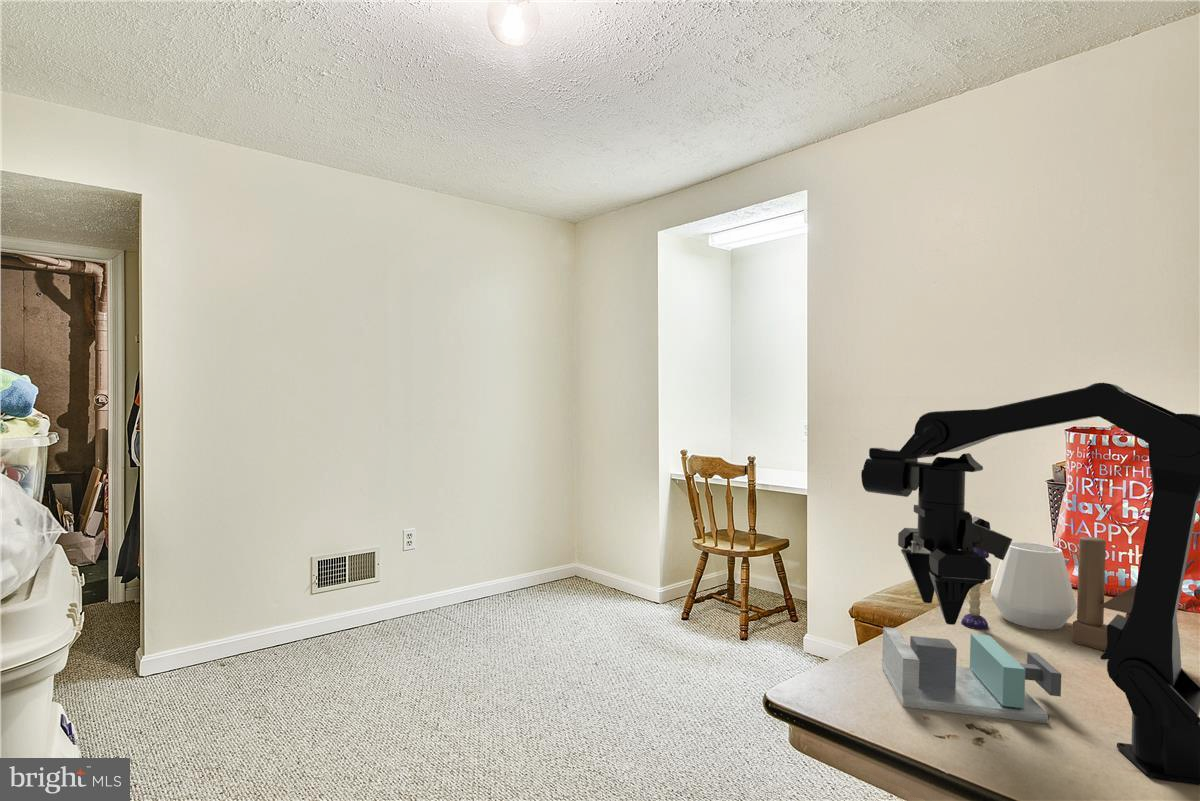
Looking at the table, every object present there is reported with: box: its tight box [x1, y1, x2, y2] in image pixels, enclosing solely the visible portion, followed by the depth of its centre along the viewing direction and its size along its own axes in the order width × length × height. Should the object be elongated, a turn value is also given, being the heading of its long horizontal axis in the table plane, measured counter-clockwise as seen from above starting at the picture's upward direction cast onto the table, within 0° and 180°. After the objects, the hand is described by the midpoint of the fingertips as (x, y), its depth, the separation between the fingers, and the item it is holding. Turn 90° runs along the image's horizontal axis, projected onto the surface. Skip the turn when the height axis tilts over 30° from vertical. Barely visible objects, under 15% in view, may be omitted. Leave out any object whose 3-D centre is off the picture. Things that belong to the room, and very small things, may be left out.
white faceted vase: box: [990, 541, 1077, 631], centre depth 120 cm, size 13×13×14 cm
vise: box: [880, 626, 1049, 724], centre depth 89 cm, size 13×17×6 cm
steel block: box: [909, 635, 958, 689], centre depth 90 cm, size 4×5×6 cm
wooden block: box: [1071, 536, 1136, 652], centre depth 106 cm, size 4×11×18 cm, turn 35°
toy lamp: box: [960, 547, 990, 630], centre depth 117 cm, size 5×5×17 cm
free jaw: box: [969, 633, 1062, 708], centre depth 88 cm, size 12×8×5 cm, turn 168°
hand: (938, 612), depth 90 cm, fingers open, 9 cm apart
